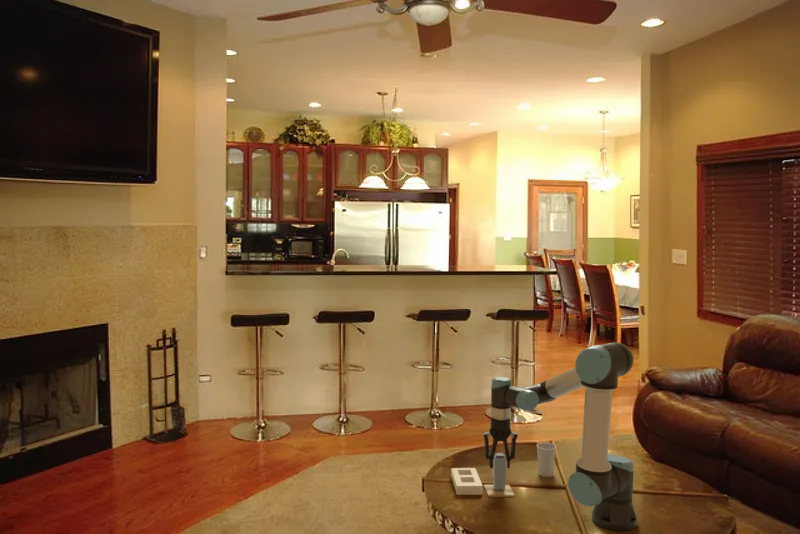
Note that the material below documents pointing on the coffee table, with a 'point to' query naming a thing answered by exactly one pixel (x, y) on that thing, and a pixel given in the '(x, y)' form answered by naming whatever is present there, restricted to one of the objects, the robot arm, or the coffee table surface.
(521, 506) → the coffee table surface
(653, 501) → the coffee table surface
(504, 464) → the plug
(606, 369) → the robot arm
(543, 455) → the cup
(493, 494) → the pad
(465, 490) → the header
